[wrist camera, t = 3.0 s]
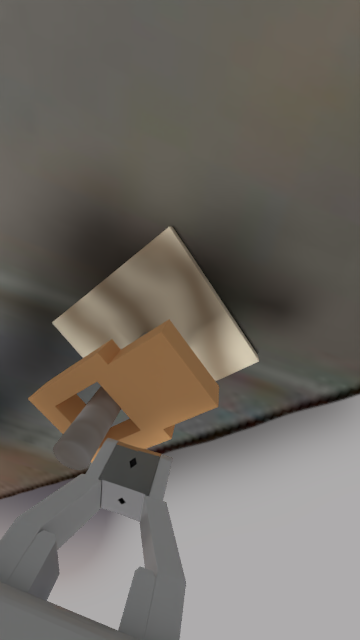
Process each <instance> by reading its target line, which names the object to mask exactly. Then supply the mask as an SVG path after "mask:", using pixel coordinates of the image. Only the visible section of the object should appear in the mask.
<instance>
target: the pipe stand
mask: <svg viewBox="0 0 360 640" xmlns="http://www.w3.org/2000/svg"><path fill="white" fill-rule="evenodd" d="M169 319H170V321H171V322H172V323H173V325H174V326H175V328H176V329H177V330H178V332H179V333H180V334H181V336H182V337H183V338H184V340H185V341H186V342H187V344H188V345H189V346H190V348H191V349H192V350H193V352H194V353H195V355H196V356H197V357H198V359H199V360H200V361H201V363H202V364H203V365H204V367H205V368H206V369H207V371H208V372H209V373H210V375H211V376H212V377H213V379H214V380H215V381H217V380H219V379H221V378H224V377H226V376H228V375H230V374H232V373H234V372H237V371H239V370H241V369H243V368H245V367H248V366H250V365H252V364H254V363H256V362H259V358H258V355H257V353H256V352H255V350H254V349H253V347H252V346H251V344H250V343H249V341H248V340H247V338H246V337H245V335H244V334H243V332H242V331H241V329H240V328H239V326H238V325H237V323H236V322H235V320H234V319H233V317H232V316H231V314H230V313H229V311H228V309H227V308H226V306H225V305H224V303H223V302H222V300H221V299H220V297H219V296H218V294H217V293H216V291H215V290H214V288H213V287H212V285H211V284H210V282H209V281H208V279H207V278H206V276H205V275H204V273H203V272H202V270H201V269H200V267H199V266H198V264H197V263H196V261H195V260H194V258H193V257H192V255H191V254H190V252H189V251H188V249H187V248H186V246H185V245H184V243H183V242H182V240H181V239H180V237H179V236H178V234H177V233H176V231H175V230H174V228H173V227H168V228H167V229H166V230H165V231H163V232H162V233H161V234H160V235H158V236H157V237H156V238H155V239H154V240H152V241H151V242H150V243H149V244H147V245H146V246H145V247H144V248H143V249H141V250H140V251H139V252H138V253H136V254H135V255H134V256H133V257H132V258H130V259H129V260H128V261H127V262H125V263H124V264H123V265H122V266H121V267H119V268H118V269H117V270H116V271H114V272H113V273H112V274H111V275H110V276H108V277H107V278H106V279H105V280H103V281H102V282H101V283H100V284H99V285H97V286H96V287H95V288H94V289H92V290H91V291H90V292H89V293H88V294H86V295H85V296H84V297H83V298H81V299H80V300H79V301H78V302H77V303H75V304H74V305H73V306H72V307H70V308H69V309H68V310H67V311H66V312H64V313H63V314H62V315H61V316H59V317H58V318H57V319H56V320H55V321H53V322H52V323H53V325H54V326H55V327H56V328H57V329H58V330H59V331H60V333H61V334H62V335H63V336H64V337H65V338H66V339H67V340H68V342H69V343H70V344H71V345H72V346H73V347H74V348H75V350H76V351H77V352H78V353H79V354H80V355H81V356H82V357H83V358H84V357H86V356H87V355H89V354H90V353H92V352H93V351H95V350H96V349H98V348H99V347H101V346H102V345H104V344H105V343H107V342H108V341H110V340H111V339H113V341H114V342H115V343H116V344H117V345H118V347H119V348H120V349H123V348H124V347H126V346H127V345H129V344H130V343H132V342H134V341H135V340H137V339H138V338H140V337H142V336H143V335H145V334H146V333H148V332H150V331H151V330H153V329H154V328H156V327H158V326H159V325H161V324H162V323H164V322H166V321H167V320H169ZM120 410H121V408H120V406H119V405H118V404H117V403H116V402H115V401H114V400H113V399H112V397H111V396H110V395H109V394H108V393H107V392H106V391H105V390H104V388H103V387H102V386H101V387H100V388H99V390H98V391H97V392H96V393H95V395H94V396H93V397H92V398H91V400H90V401H89V402H88V403H87V405H86V406H85V407H84V409H83V410H82V411H81V412H80V414H79V415H78V416H77V417H76V419H75V420H74V421H73V422H72V424H71V425H70V426H69V428H68V429H67V430H66V431H65V433H64V434H63V435H62V436H61V438H60V439H59V440H58V442H57V443H56V444H55V445H54V447H53V452H54V455H55V457H56V458H57V459H58V461H59V462H61V463H62V464H63V465H65V466H67V467H69V468H71V469H75V470H82V469H85V468H87V467H88V465H89V464H90V462H91V460H92V458H93V457H94V455H95V453H96V451H97V450H98V448H99V446H100V444H101V443H102V441H103V439H104V438H105V436H106V434H107V432H108V431H109V429H110V427H111V425H112V424H113V422H114V420H115V418H116V417H117V415H118V413H119V411H120Z"/></svg>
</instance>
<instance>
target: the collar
mask: <svg viewBox="0 0 360 640" xmlns="http://www.w3.org/2000/svg"><path fill="white" fill-rule="evenodd" d="M95 382H98V383H99V384H100V385H101V386H102V387H103V388H104V390H105V391H106V392H107V393H108V394H109V395H110V396H111V397H112V399H113V400H114V401H115V402H116V403H117V404H118V405H119V406H120V408H121V409H122V410H123V411H124V412H125V413H126V414H127V415H128V417H129V418H130V419H128V420H126V421H124V422H122V423H120V424H118V425H115V426H113V427H111V428H110V429H109V431H108V432H107V434H106V436H105V438H104V439H103V441H102V443H101V444H100V446H99V448H98V450H97V451H96V453H95V455H94V457H93V458H92V460H91V463H92V462H93V460H94V459H95V457H96V455H97V454H98V452H99V450H100V448H101V447H102V445H103V443H104V442H105V440H106V439H107V438H111V439H114V440H117V441H120V442H123V443H126V444H129V445H132V446H135V447H138V448H143V449H146V448H149V447H151V446H154V445H157V444H159V443H162V442H165V441H167V440H170V439H171V438H172V434H173V430H174V426H175V424H177V423H180V422H182V421H184V420H187V419H189V418H192V417H194V416H197V415H199V414H202V413H204V412H207V411H209V410H212V409H214V408H216V407H218V401H219V386H218V384H217V383H216V382H215V380H214V379H213V377H212V376H211V375H210V373H209V372H208V371H207V369H206V368H205V367H204V365H203V364H202V363H201V361H200V360H199V359H198V357H197V356H196V355H195V353H194V352H193V350H192V349H191V348H190V346H189V345H188V344H187V342H186V341H185V340H184V338H183V337H182V336H181V334H180V333H179V332H178V330H177V329H176V328H175V326H174V325H173V323H172V322H171V321H170V319H169V320H167V321H166V322H164V323H162V324H161V325H159V326H158V327H156V328H154V329H153V330H151V331H150V332H148V333H146V334H145V335H143V336H142V337H140V338H138V339H137V340H135V341H134V342H132V343H130V344H129V345H127V346H126V347H124V348H123V349H120V348H119V347H118V345H117V344H116V343H115V342H114V341H113V339H111V340H110V341H108V342H107V343H105V344H104V345H102V346H101V347H99V348H98V349H96V350H95V351H93V352H92V353H90V354H89V355H87V356H86V357H84V358H83V359H81V360H80V361H78V362H77V363H75V364H74V365H72V366H71V367H69V368H68V369H66V370H65V371H63V372H62V373H60V374H59V375H57V376H56V377H54V378H53V379H51V380H50V381H48V382H47V383H45V384H44V385H43V386H42V387H41V388H40V389H38V390H37V391H36V392H35V393H34V394H33V395H31V396H30V397H29V398H28V400H29V401H30V402H31V403H32V404H33V405H34V406H35V407H36V408H37V409H38V410H39V411H40V412H41V413H42V414H43V415H44V416H45V417H46V418H47V419H48V420H49V421H50V422H51V423H52V424H53V425H54V426H55V427H56V428H57V429H58V430H59V431H60V432H61V433H62V434H64V433H65V431H66V430H67V429H68V428H69V426H70V425H71V424H72V422H73V421H74V420H75V419H76V417H77V416H78V415H79V414H80V412H81V411H82V410H83V409H84V407H85V406H86V404H85V403H84V402H83V401H82V400H81V399H80V398H79V396H78V395H77V393H78V392H80V391H82V390H83V389H85V388H87V387H88V386H90V385H92V384H94V383H95Z"/></svg>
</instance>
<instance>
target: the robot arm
mask: <svg viewBox="0 0 360 640" xmlns="http://www.w3.org/2000/svg"><path fill="white" fill-rule="evenodd" d="M171 464H172V457H168V456H165V455H161V454H160V453H156V452H153V451H149V450H146V449H143V448H138V447H135V446H132V445H129V444H126V443H123V442H120V441H117V440H114V439H111V438H107V439H106V440H105V442H104V443H103V445H102V447H101V448H100V450H99V452H98V454H97V455H96V457H95V459H94V460H93V462H92V464H91V466H90V467H89V469H88V471H87V472H86V474H81V475H79V476H78V477H76V478H75V479H73V480H72V481H70V482H69V483H67V484H66V485H65V486H63V487H62V488H60V489H59V490H57V491H56V492H54V493H53V494H51V495H50V496H48V497H47V498H45V499H44V500H42V501H41V502H40V503H38V504H37V505H35V506H34V507H32V508H31V509H29V510H28V511H26V512H25V513H23V514H22V515H20V516H19V517H17V519H16V520H15V521H14V523H13V524H12V525H11V527H10V528H9V529H8V531H7V532H6V533H5V535H4V536H3V537H2V539H1V540H0V640H179V638H180V629H181V621H182V612H183V603H184V595H185V587H186V581H185V577H184V573H183V568H182V564H181V560H180V557H179V552H178V548H177V544H176V540H175V536H174V532H173V528H172V524H171V520H170V516H169V512H168V508H167V504H166V502H164V501H163V497H164V494H165V489H166V485H167V481H168V476H169V473H170V468H171ZM100 508H102V509H106V510H109V511H112V512H115V513H118V514H121V515H124V516H127V517H129V518H132V519H134V520H137V521H139V522H140V529H141V538H142V547H143V555H144V563H145V568H143V567H139V568H138V569H137V570H136V571H135V573H134V577H133V580H132V584H131V587H130V591H129V594H128V598H127V602H126V606H125V609H124V612H123V616H122V619H121V623H120V627H119V630H118V631H117V630H115V629H112V628H110V627H108V626H106V625H103V624H101V623H98V622H96V621H94V620H91V619H89V618H86V617H84V616H82V615H79V614H77V613H74V612H72V611H70V610H67V609H65V608H62V607H60V606H57V605H55V604H53V603H50V602H48V601H47V599H48V597H49V595H50V592H51V590H52V588H53V586H54V584H55V582H56V580H57V578H58V576H59V564H58V554H57V550H58V549H59V548H60V547H61V546H62V545H63V544H64V543H65V542H66V541H67V540H68V539H69V538H70V537H72V536H73V535H74V534H75V533H76V532H77V531H78V530H79V529H80V528H81V527H82V526H83V525H84V524H85V523H86V522H87V521H88V520H90V519H91V518H92V517H93V516H94V515H95V514H96V513H97V512H98V511H99V510H100Z"/></svg>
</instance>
